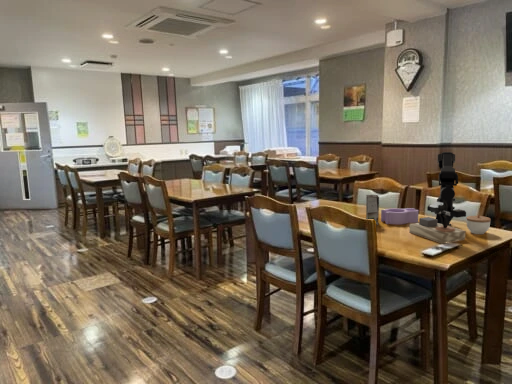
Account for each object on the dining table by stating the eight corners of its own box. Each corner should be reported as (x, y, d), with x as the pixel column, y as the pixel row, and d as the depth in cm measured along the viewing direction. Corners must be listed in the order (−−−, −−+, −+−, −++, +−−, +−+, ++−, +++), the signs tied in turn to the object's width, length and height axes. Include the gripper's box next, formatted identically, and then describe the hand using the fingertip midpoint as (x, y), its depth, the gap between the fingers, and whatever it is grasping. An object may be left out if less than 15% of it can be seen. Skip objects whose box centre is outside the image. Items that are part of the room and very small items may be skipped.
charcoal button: (428, 224, 203) (428, 217, 202) (437, 227, 197) (437, 219, 196) (419, 225, 201) (419, 218, 200) (427, 228, 195) (428, 220, 194)
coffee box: (378, 225, 219) (379, 197, 216) (367, 224, 220) (367, 197, 218) (377, 221, 228) (377, 194, 225) (365, 221, 229) (366, 194, 226)
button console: (430, 229, 207) (431, 221, 206) (464, 239, 186) (465, 230, 186) (409, 232, 202) (409, 224, 202) (442, 243, 182) (442, 234, 181)
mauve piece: (411, 218, 233) (411, 207, 232) (421, 223, 220) (422, 211, 219) (379, 220, 231) (379, 208, 230) (387, 225, 219) (388, 213, 218)
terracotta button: (444, 233, 193) (445, 225, 192) (454, 236, 187) (454, 228, 186) (435, 234, 191) (435, 227, 190) (444, 238, 185) (445, 229, 184)
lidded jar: (474, 228, 205) (475, 211, 203) (494, 233, 195) (495, 215, 194) (461, 231, 201) (462, 214, 199) (480, 236, 191) (481, 218, 189)
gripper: (419, 194, 192) (417, 225, 194) (449, 201, 174) (447, 234, 177) (436, 193, 195) (435, 223, 198) (467, 198, 178) (466, 231, 181)
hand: (445, 227), depth 188 cm, fingers closed, pressing on terracotta button
